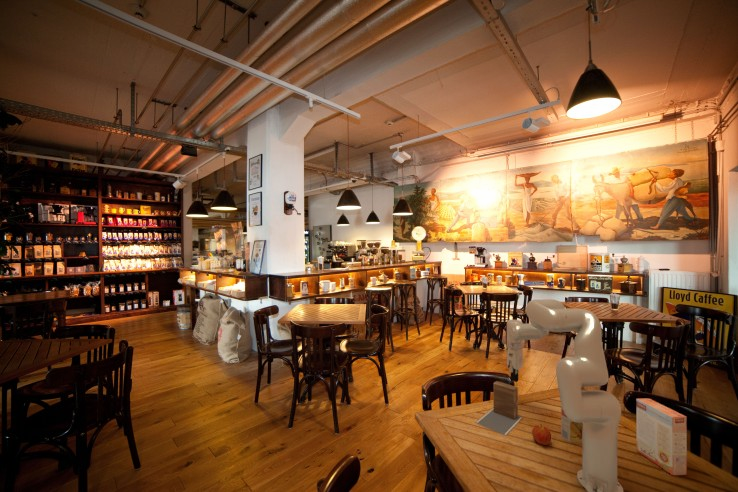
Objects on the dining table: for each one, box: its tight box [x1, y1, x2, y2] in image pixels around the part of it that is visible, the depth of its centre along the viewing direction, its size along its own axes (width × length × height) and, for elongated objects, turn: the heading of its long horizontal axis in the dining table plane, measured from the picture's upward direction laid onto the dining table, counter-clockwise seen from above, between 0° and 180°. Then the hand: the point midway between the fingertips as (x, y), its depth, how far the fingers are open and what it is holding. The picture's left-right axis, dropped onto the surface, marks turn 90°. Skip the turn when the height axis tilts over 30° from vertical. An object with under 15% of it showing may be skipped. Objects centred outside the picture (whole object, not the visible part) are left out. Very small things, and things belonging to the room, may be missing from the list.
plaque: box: [493, 380, 519, 420], centre depth 149 cm, size 4×10×14 cm, turn 45°
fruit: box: [531, 424, 552, 446], centre depth 128 cm, size 7×7×8 cm
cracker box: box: [635, 397, 688, 476], centre depth 117 cm, size 14×6×21 cm, turn 4°
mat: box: [475, 406, 524, 437], centre depth 144 cm, size 20×14×1 cm
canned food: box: [560, 406, 584, 445], centre depth 132 cm, size 8×8×12 cm
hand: (514, 380), depth 158 cm, fingers closed
